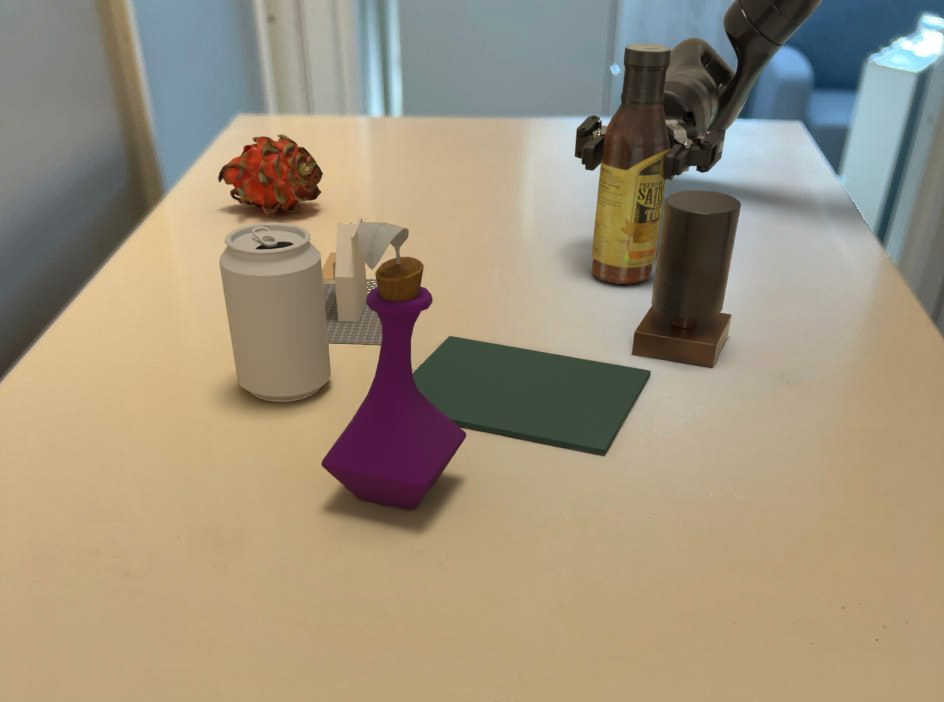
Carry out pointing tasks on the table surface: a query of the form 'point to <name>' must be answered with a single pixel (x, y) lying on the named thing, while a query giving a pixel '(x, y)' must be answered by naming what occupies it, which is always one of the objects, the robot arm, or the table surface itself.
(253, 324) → the can
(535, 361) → the mat
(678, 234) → the dark brown piece
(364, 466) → the perfume bottle
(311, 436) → the table surface
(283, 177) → the dragon fruit
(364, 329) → the architectural model
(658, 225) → the sauce bottle
